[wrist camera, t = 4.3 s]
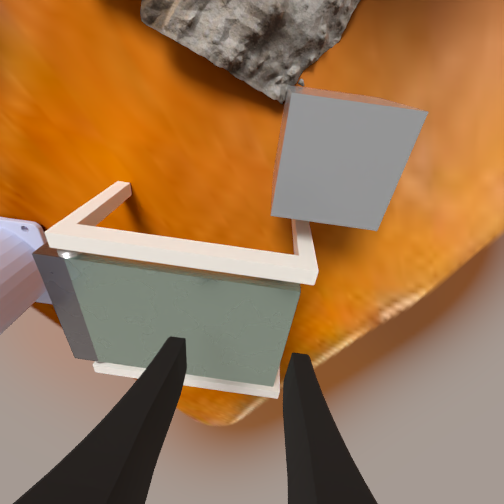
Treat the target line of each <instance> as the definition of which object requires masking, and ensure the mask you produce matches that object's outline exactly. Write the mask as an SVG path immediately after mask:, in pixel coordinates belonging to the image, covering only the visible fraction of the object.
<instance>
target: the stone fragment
mask: <svg viewBox="0 0 504 504" xmlns="http://www.w3.org/2000/svg"><path fill="white" fill-rule="evenodd" d="M359 2H360V0H142V2H141V10H140V14H141V20H142V22H144V23H145V24H146V25H147V26H149V27H151V28H153V29H155V30H157V31H158V32H160V33H161V34H163V35H166V36H168V37H170V38H171V39H173V40H175V41H176V42H178V43H180V44H181V45H183V46H186V47H188V48H189V49H191V50H192V51H194V52H195V53H197V54H198V55H201V56H203V57H205V58H207V59H208V60H209V61H211V62H212V63H213V64H215V65H216V66H218V67H223V68H224V69H226V70H227V71H229V72H230V74H232V75H234V76H235V77H236V78H238V79H240V80H243V81H245V82H246V83H247V84H249V85H250V86H252V87H253V88H255V89H257V90H259V91H261V92H263V93H264V94H266V95H267V96H268V97H270V98H272V99H273V100H278V101H279V102H280V103H281V104H283V101H284V100H285V98H286V93H287V87H288V85H292V86H294V85H295V84H296V83H297V81H298V78H299V77H300V75H301V74H302V72H303V70H305V69H306V68H307V67H308V66H310V65H312V63H314V62H315V61H317V60H318V59H319V57H320V56H321V55H322V54H323V53H324V52H326V51H327V50H328V49H329V48H332V47H333V46H334V45H335V44H336V43H338V42H339V41H340V39H341V35H342V33H343V31H344V30H345V28H346V25H347V23H348V21H349V20H350V17H351V14H352V13H353V11H354V9H355V8H356V7H357V4H358V3H359ZM298 84H300V85H302V86H304V81H303V79H300V80H299V82H298Z"/></svg>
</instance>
